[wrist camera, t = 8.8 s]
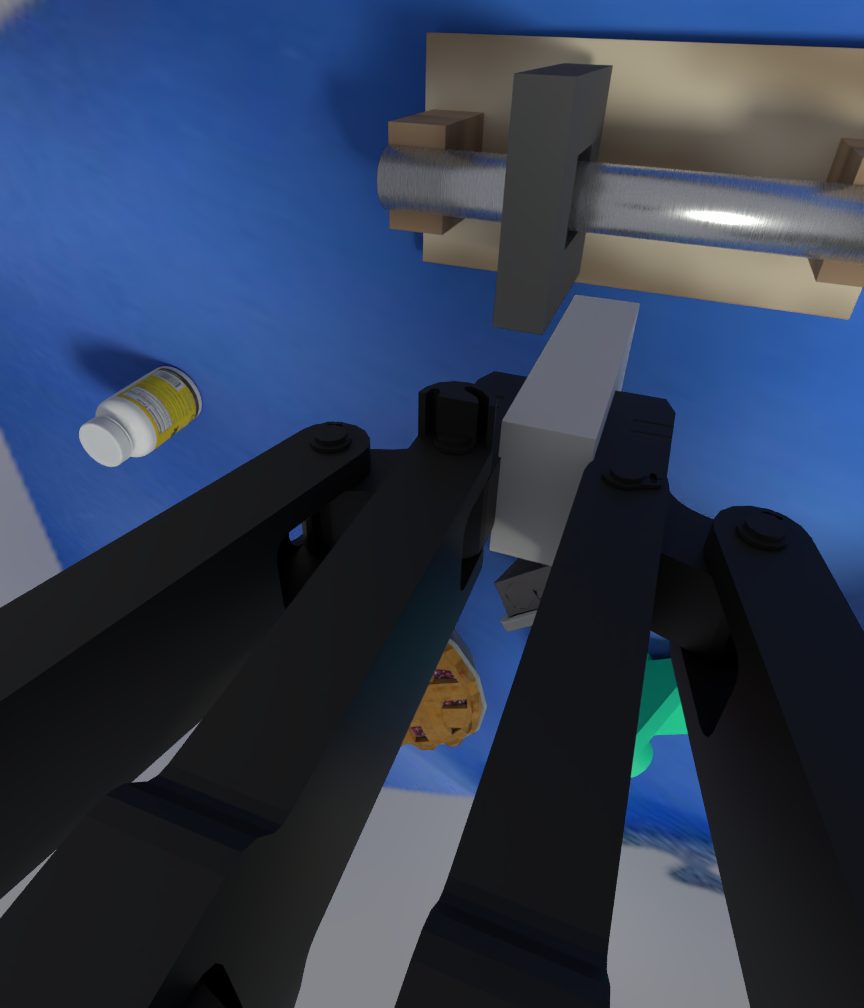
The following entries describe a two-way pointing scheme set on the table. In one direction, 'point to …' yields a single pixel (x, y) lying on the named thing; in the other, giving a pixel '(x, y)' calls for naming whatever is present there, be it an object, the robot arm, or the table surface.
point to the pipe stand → (662, 150)
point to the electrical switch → (522, 592)
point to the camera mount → (657, 711)
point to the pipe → (644, 202)
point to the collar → (545, 189)
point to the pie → (449, 701)
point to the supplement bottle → (141, 416)
